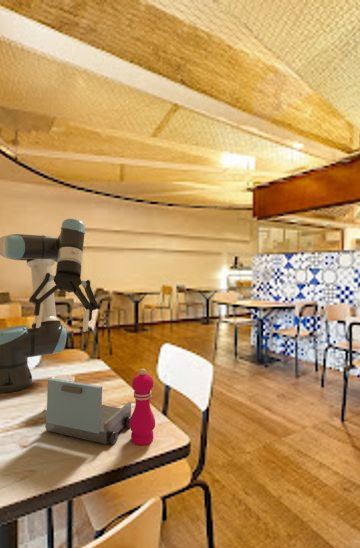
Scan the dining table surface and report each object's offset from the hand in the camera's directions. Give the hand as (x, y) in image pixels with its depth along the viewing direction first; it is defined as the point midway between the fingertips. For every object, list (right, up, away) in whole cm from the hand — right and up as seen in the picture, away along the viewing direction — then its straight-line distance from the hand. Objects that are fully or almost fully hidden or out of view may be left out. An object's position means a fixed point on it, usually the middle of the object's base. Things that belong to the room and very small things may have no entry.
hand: (62, 329), depth 92 cm
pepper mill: (+24, -30, -5) cm, 39 cm away
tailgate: (+5, -26, -7) cm, 27 cm away
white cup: (-5, -30, +14) cm, 33 cm away
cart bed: (+8, -30, +1) cm, 31 cm away
